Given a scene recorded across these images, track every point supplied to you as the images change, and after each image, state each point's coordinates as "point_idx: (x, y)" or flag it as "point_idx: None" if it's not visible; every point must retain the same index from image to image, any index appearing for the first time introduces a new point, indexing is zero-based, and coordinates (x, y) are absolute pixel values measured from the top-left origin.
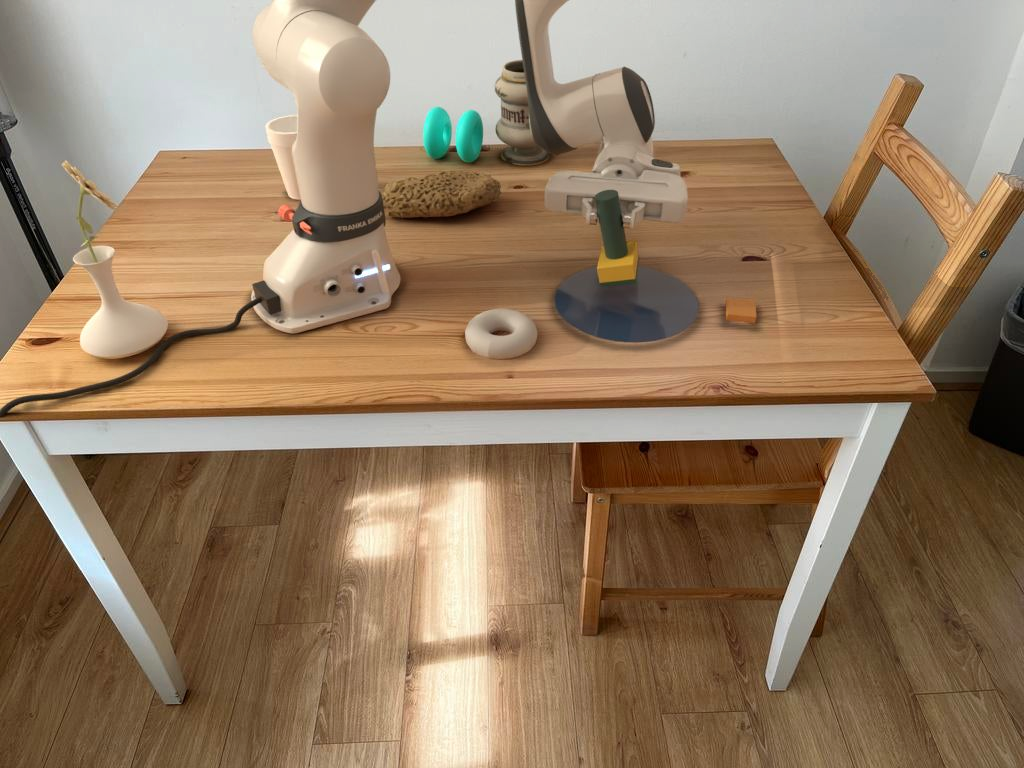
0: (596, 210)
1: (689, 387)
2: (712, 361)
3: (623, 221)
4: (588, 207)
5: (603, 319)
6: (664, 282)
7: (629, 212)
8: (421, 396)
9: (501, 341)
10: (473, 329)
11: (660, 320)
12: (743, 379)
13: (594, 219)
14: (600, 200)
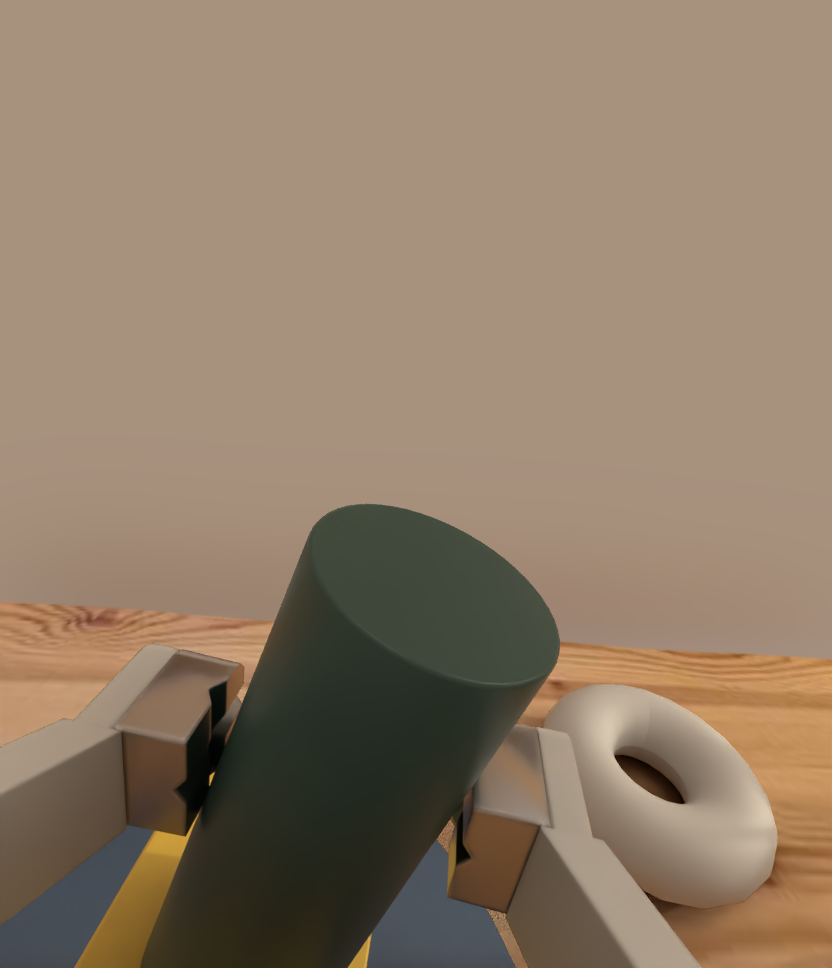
0: (490, 775)
1: (165, 626)
2: (29, 695)
3: (243, 680)
4: (591, 837)
5: None
6: None
7: (147, 719)
8: (688, 653)
9: (618, 686)
10: (719, 735)
11: (68, 879)
12: (7, 634)
13: None
14: (482, 547)
